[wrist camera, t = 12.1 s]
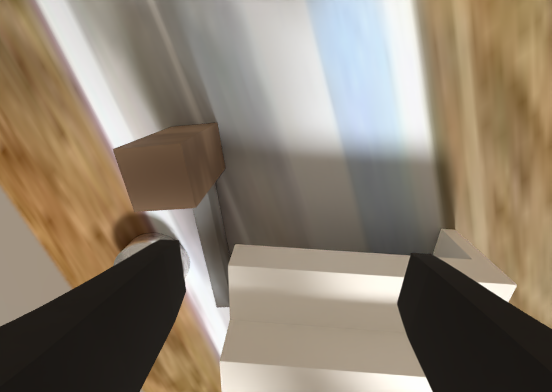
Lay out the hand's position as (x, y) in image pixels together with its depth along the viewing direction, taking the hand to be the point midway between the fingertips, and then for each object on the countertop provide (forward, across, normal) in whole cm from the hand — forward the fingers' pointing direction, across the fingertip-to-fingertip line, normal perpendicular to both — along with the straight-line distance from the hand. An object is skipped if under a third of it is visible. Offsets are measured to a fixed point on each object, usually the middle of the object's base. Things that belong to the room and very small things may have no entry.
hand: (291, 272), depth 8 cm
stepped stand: (+10, -4, +8) cm, 13 cm away
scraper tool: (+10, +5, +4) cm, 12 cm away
